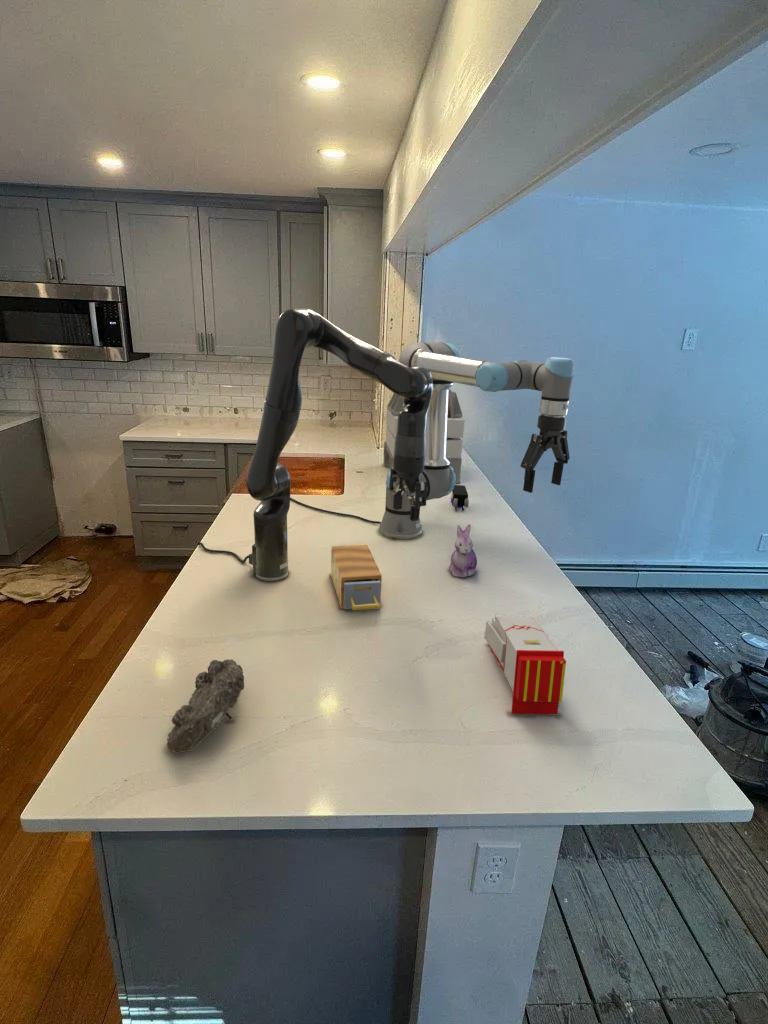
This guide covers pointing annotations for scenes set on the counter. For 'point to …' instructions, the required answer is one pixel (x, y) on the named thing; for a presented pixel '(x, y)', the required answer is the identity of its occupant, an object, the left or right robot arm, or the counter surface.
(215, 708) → the fossil
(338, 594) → the cabinet
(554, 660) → the toy
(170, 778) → the counter surface
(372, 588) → the drawer
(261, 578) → the left robot arm
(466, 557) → the figurine
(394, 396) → the white slatted crate
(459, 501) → the figurine character
